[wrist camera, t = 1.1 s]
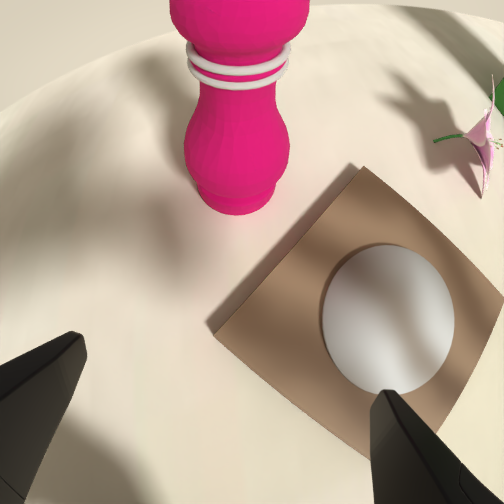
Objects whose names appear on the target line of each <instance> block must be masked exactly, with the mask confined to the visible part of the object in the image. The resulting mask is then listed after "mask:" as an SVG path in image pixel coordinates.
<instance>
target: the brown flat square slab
mask: <svg viewBox="0 0 504 504" xmlns="http://www.w3.org/2000/svg"><path fill="white" fill-rule="evenodd" d="M503 303H504V297H503V296H502V295H501V294H500V292H499V291H498V290H497V289H496V288H495V287H494V286H493V285H492V283H491V282H490V281H489V280H488V279H487V278H486V277H485V276H484V275H483V274H482V273H481V271H480V270H479V269H478V268H477V267H476V266H475V265H474V264H473V263H472V262H471V261H470V260H469V259H468V258H467V257H466V256H465V255H464V254H463V253H462V252H461V251H460V250H459V249H458V248H457V247H456V246H455V245H454V244H453V243H452V242H451V241H450V240H449V239H448V238H447V237H446V236H445V235H444V234H443V233H442V232H441V231H440V230H438V229H437V228H436V227H435V226H434V225H433V224H432V223H431V222H430V221H429V220H428V219H427V218H425V217H424V216H423V215H422V214H421V213H420V212H419V211H418V210H417V209H415V208H414V207H413V206H412V205H411V204H410V203H409V202H407V201H406V200H405V199H404V198H403V197H402V196H400V195H399V194H398V193H397V192H396V191H394V190H393V189H392V188H391V187H390V186H388V185H387V184H386V183H385V182H383V181H382V180H381V179H380V178H379V177H377V176H376V175H375V174H373V173H372V172H371V171H370V170H368V169H367V168H366V167H365V166H363V167H362V168H361V170H360V171H359V172H358V173H357V174H356V175H355V177H354V178H353V179H352V180H351V181H350V182H349V184H348V185H347V186H346V187H345V188H344V189H343V191H342V192H341V193H340V194H339V195H338V196H337V198H336V199H335V200H334V201H333V202H332V203H331V205H330V206H329V207H328V208H327V209H326V210H325V212H324V213H323V214H322V215H321V216H320V217H319V218H318V220H317V221H316V222H315V223H314V224H313V225H312V226H311V228H310V229H309V230H308V231H307V232H306V233H305V234H304V236H303V237H302V238H301V239H300V240H299V241H298V242H297V244H296V245H295V246H294V247H293V248H292V249H291V250H290V251H289V253H288V254H287V255H286V256H285V257H284V258H283V259H282V261H281V262H280V263H279V264H278V265H277V266H276V267H275V268H274V269H273V271H272V272H271V273H270V274H269V275H268V276H267V277H266V278H265V280H264V281H263V282H262V283H261V284H260V285H259V286H258V287H257V288H256V290H255V291H254V292H253V293H252V294H251V295H250V296H249V297H248V298H247V299H246V301H245V302H244V303H243V304H242V305H241V306H240V307H239V308H238V309H237V310H236V312H235V313H234V314H233V315H232V316H231V317H230V318H229V319H228V320H227V321H226V322H225V324H224V325H223V326H222V327H221V328H220V329H219V330H218V331H217V332H216V333H215V334H214V335H213V336H214V337H215V338H216V339H217V340H218V341H219V342H220V343H222V344H223V345H224V346H225V347H226V348H227V349H228V350H230V351H231V352H232V353H233V354H234V355H235V356H236V357H238V358H239V359H240V360H241V361H242V362H243V363H244V364H246V365H247V366H248V367H249V368H250V369H252V370H253V371H254V372H255V373H256V374H257V375H259V376H260V377H261V378H262V379H263V380H265V381H266V382H267V383H268V384H269V385H271V386H272V387H273V388H274V389H276V390H277V391H278V392H279V393H281V394H282V395H283V396H284V397H285V398H287V399H288V400H289V401H290V402H292V403H293V404H294V405H296V406H297V407H298V408H299V409H301V410H302V411H303V412H305V413H306V414H307V415H308V416H310V417H311V418H312V419H314V420H315V421H316V422H318V423H319V424H320V425H322V426H323V427H324V428H326V429H327V430H328V431H330V432H331V433H332V434H334V435H335V436H336V437H338V438H339V439H341V440H342V441H343V442H345V443H346V444H348V445H349V446H350V447H352V448H353V449H355V450H356V451H358V452H359V453H360V454H362V455H363V456H365V457H366V458H368V459H369V460H370V408H371V405H372V404H373V402H374V400H375V399H376V397H377V396H378V394H379V392H380V391H381V390H383V389H393V390H395V391H396V392H397V393H398V394H399V395H400V396H401V397H402V398H403V399H404V400H405V401H406V402H407V403H408V405H409V406H410V407H411V408H412V409H413V410H414V411H415V412H416V413H417V414H418V415H419V416H420V417H421V419H422V420H423V421H424V422H425V423H426V424H427V425H428V426H429V427H430V428H431V429H432V430H433V432H434V433H435V434H436V433H437V431H438V430H439V428H440V427H441V425H442V424H443V422H444V421H445V419H446V418H447V416H448V414H449V413H450V411H451V410H452V408H453V406H454V405H455V403H456V401H457V400H458V398H459V396H460V394H461V393H462V391H463V389H464V387H465V385H466V384H467V382H468V380H469V378H470V376H471V374H472V372H473V370H474V369H475V367H476V365H477V363H478V361H479V359H480V356H481V354H482V352H483V350H484V348H485V346H486V344H487V342H488V339H489V337H490V335H491V333H492V330H493V328H494V326H495V323H496V321H497V318H498V316H499V313H500V311H501V308H502V305H503Z"/></svg>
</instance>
